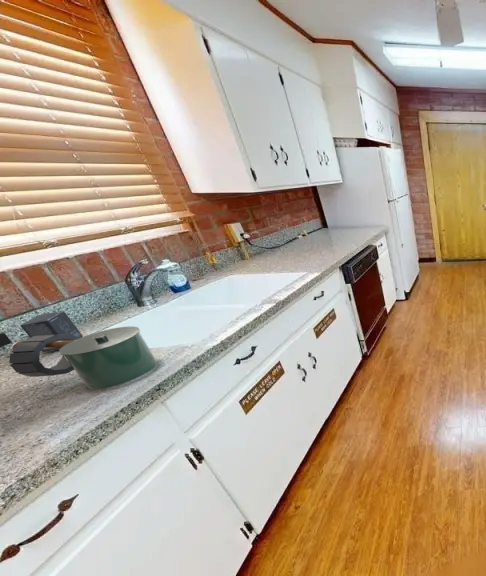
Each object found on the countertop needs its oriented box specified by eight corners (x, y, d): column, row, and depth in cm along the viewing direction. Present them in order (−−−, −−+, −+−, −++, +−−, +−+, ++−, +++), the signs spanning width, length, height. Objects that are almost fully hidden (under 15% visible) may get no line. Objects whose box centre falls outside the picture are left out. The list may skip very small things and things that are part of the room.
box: (58, 341, 100) (38, 314, 96) (84, 336, 103) (64, 310, 99) (41, 353, 94) (18, 324, 90) (69, 347, 97) (47, 319, 92)
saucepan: (9, 398, 77) (-28, 356, 71) (73, 364, 89) (45, 327, 84) (126, 389, 80) (99, 349, 75) (173, 358, 92) (152, 322, 87)
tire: (49, 383, 78) (20, 350, 73) (27, 385, 77) (-3, 351, 73) (96, 357, 88) (73, 326, 83) (77, 358, 87) (53, 327, 83)
